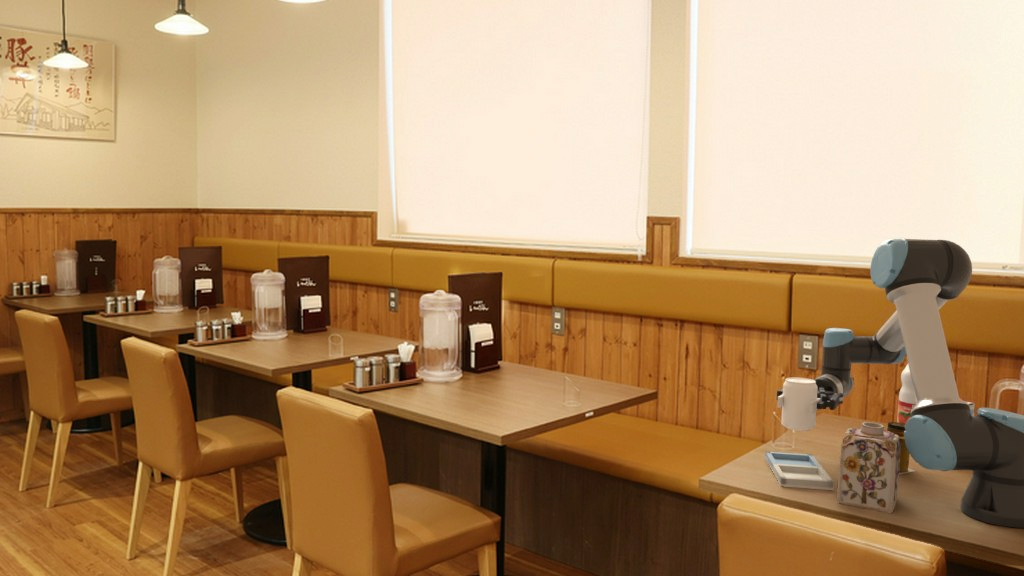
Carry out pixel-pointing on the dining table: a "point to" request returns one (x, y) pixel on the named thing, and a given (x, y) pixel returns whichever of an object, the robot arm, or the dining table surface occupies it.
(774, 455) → the divided tray
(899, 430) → the condiment
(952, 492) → the dining table surface
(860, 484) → the decorative jar
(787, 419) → the beverage can
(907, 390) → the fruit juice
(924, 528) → the dining table surface
